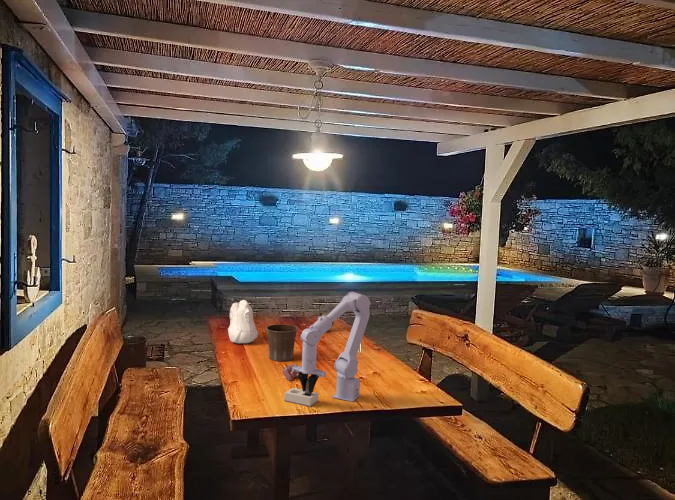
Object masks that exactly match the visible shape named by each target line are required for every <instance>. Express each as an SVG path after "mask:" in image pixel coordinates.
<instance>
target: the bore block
mask: <svg viewBox="0 0 675 500" xmlns="http://www.w3.org/2000/svg"><path fill="white" fill-rule="evenodd" d="M283 401H284V402H286V403H291V404H296V405H300V406H304V407H309V408H311V407H312V406H314V405H315V404H317V403H318V402H319V392H315V391H313V392H312V393H311V396H305V391H304V392H303V390H302V388H296V387H292V388H290V389H288V390H287V391H285V392H284V399H283Z"/></svg>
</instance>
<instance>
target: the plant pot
mask: <svg viewBox="0 0 675 500" xmlns="http://www.w3.org/2000/svg"><path fill="white" fill-rule="evenodd" d="M298 329H299V327H298V326H296V325H292V324H286V323H282V324H281V323H276V324H275V323H274V324H270V325H267V326H266V327H265V330H266V333H267V342H268V357H269V359H270V360H271V361H274V362H284V361H285V362H289V361H291V360H293V358H294V351H295V342H296V337H297V333H298V332H297V331H298Z"/></svg>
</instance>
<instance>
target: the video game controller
mask: <svg viewBox="0 0 675 500" xmlns="http://www.w3.org/2000/svg"><path fill="white" fill-rule="evenodd" d="M293 366H299V365H298V364H289V365H287V366H285V367H284V368H283V369H282V375H283V376H285V379H286V380H288V382H291V381H292V380H293V378H295V377H298V374H299V372H292V367H293ZM292 377H293V378H292Z"/></svg>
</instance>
